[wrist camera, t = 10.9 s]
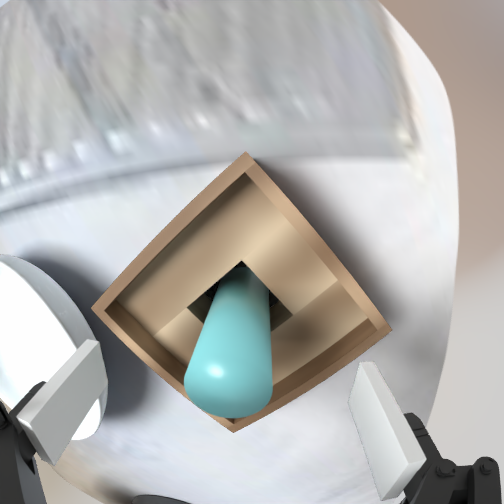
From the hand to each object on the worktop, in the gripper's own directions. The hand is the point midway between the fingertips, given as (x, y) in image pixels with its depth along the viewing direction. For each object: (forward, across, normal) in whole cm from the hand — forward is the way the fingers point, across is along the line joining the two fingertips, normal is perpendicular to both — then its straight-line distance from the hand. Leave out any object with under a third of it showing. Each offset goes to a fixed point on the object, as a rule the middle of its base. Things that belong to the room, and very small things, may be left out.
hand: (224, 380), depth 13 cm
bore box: (+11, 0, -1) cm, 11 cm away
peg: (+11, 0, 0) cm, 11 cm away
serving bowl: (+12, +21, +7) cm, 25 cm away
